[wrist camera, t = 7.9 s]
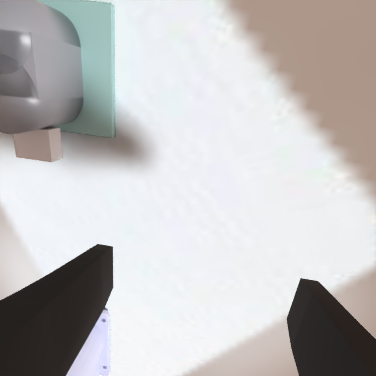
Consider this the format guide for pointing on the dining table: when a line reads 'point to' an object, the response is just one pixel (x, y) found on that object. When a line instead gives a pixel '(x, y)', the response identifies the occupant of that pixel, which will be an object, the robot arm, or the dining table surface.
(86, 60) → the mat
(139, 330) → the dining table surface
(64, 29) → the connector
